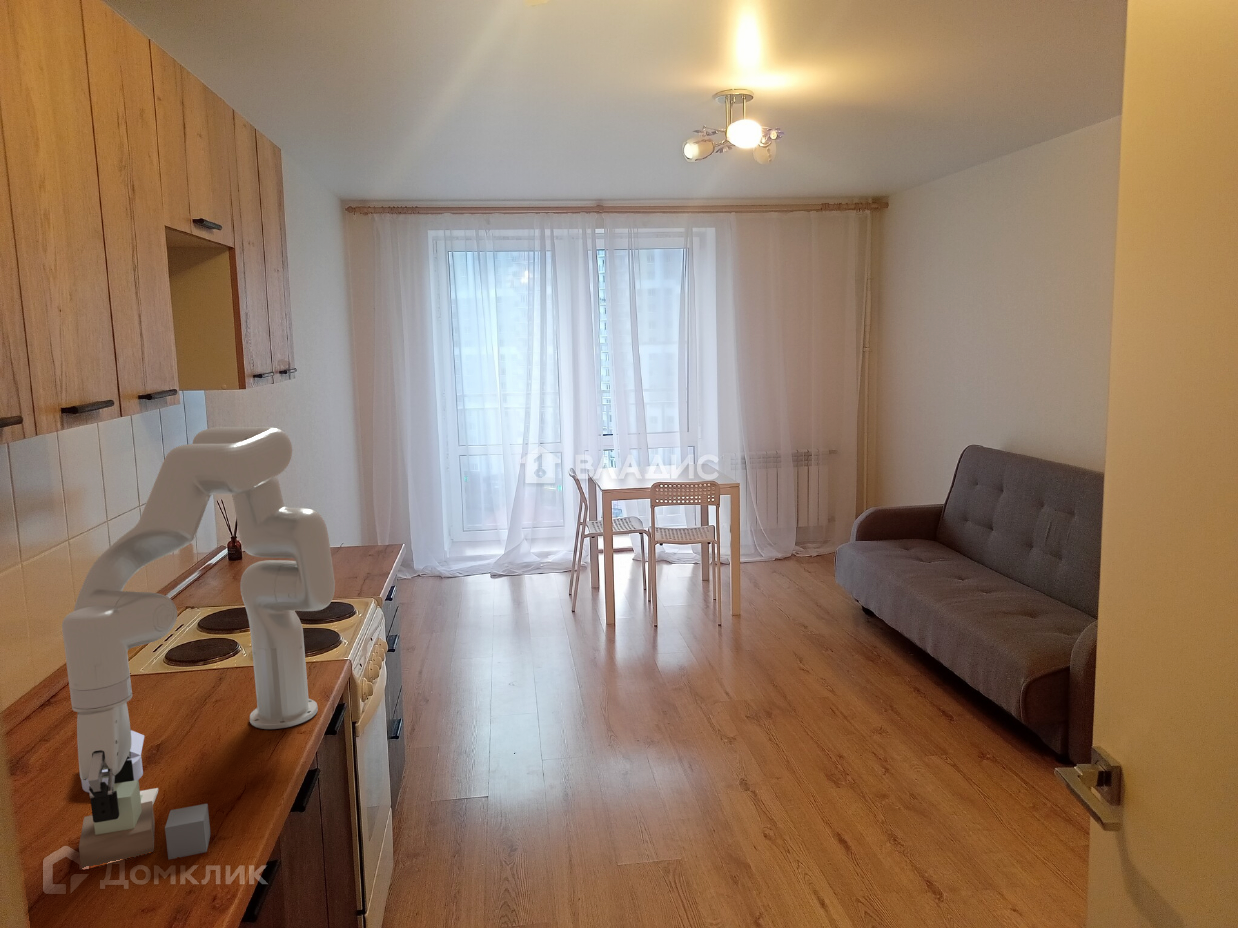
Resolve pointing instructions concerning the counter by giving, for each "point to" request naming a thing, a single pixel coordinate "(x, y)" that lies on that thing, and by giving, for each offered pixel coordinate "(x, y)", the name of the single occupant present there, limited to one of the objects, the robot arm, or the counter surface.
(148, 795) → the tile
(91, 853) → the taupe block
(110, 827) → the sage cube
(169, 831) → the charcoal cube
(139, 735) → the wedge on round base
